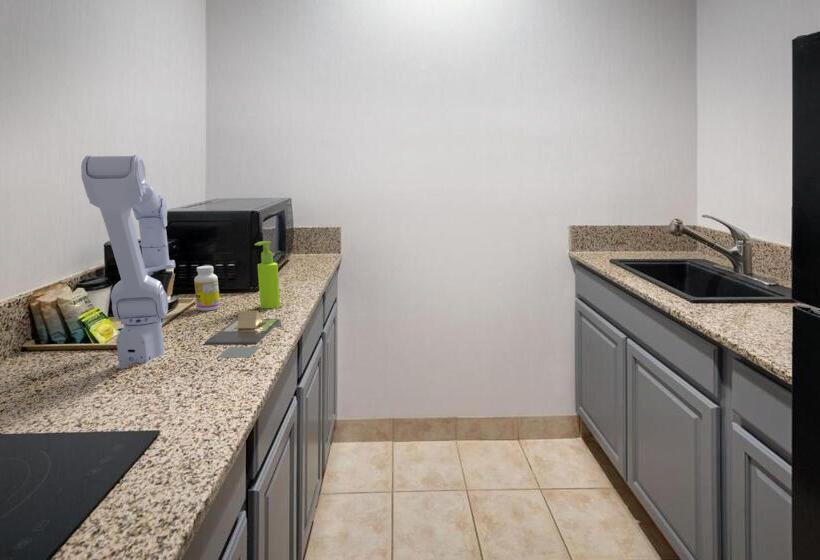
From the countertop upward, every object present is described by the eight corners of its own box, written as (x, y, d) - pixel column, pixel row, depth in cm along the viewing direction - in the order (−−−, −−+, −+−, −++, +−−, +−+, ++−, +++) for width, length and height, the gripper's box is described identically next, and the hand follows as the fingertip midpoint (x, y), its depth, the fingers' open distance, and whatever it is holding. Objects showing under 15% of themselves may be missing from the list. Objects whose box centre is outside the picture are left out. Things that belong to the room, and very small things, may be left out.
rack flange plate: (257, 350, 125) (256, 341, 124) (205, 350, 125) (204, 342, 125) (281, 326, 144) (280, 319, 144) (236, 326, 145) (235, 319, 145)
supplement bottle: (196, 307, 168) (192, 266, 166) (218, 305, 171) (215, 264, 168) (197, 312, 162) (193, 269, 160) (221, 309, 165) (217, 267, 162)
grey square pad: (250, 364, 115) (249, 357, 115) (217, 364, 116) (216, 357, 115) (260, 353, 122) (260, 347, 122) (229, 353, 123) (229, 347, 122)
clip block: (255, 328, 135) (257, 310, 136) (237, 328, 135) (239, 310, 136) (260, 333, 139) (262, 316, 140) (243, 333, 139) (245, 316, 141)
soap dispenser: (253, 308, 166) (249, 242, 162) (269, 303, 172) (265, 239, 168) (268, 310, 163) (264, 243, 159) (284, 305, 169) (280, 240, 165)
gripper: (156, 250, 123) (162, 308, 126) (184, 242, 137) (189, 295, 140) (125, 250, 123) (132, 309, 126) (157, 242, 138) (162, 295, 140)
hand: (160, 302), depth 133 cm, fingers closed
